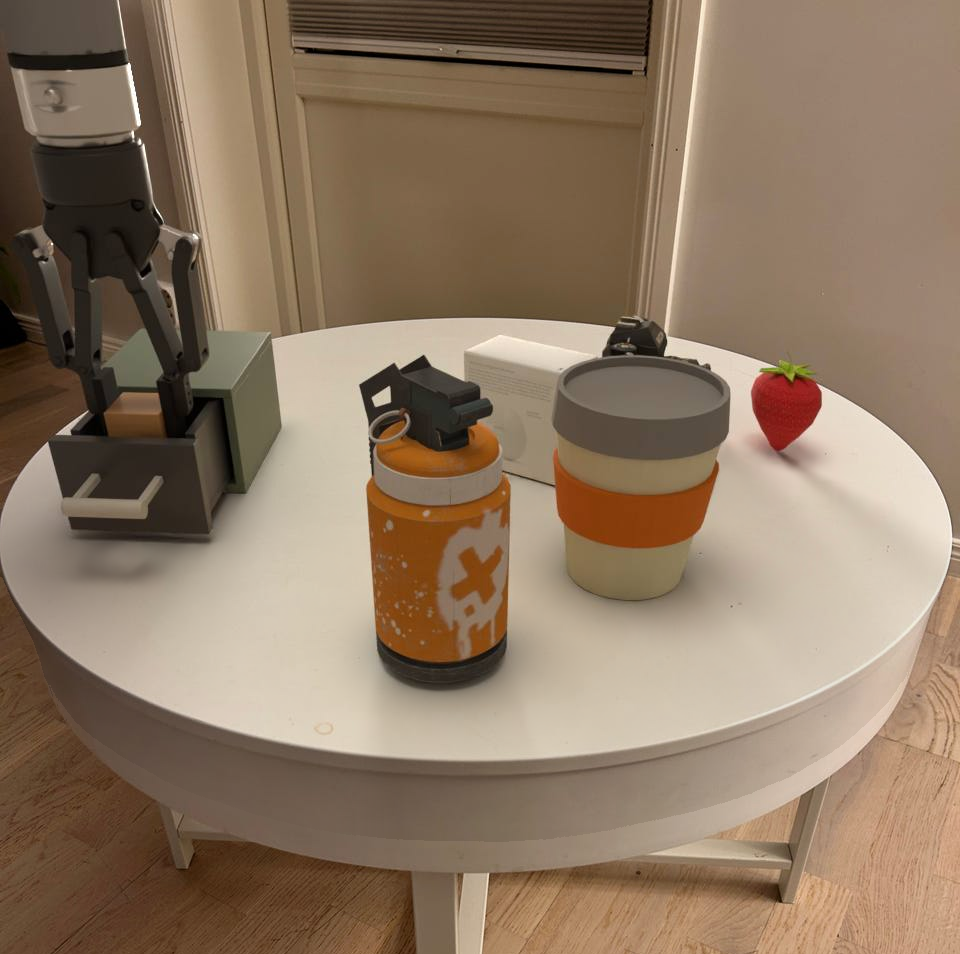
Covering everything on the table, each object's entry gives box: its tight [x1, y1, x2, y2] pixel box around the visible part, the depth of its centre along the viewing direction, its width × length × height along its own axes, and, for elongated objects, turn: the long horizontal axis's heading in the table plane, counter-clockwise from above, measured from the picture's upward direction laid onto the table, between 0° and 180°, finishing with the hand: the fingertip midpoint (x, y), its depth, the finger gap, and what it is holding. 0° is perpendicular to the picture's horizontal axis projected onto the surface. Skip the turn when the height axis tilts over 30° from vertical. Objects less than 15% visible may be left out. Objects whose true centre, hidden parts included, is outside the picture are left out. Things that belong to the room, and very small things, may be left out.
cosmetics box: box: [463, 334, 598, 486], centre depth 91 cm, size 10×6×10 cm, turn 57°
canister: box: [358, 354, 512, 684], centre depth 64 cm, size 9×11×20 cm
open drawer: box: [47, 395, 234, 535], centre depth 81 cm, size 19×11×8 cm, turn 177°
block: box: [104, 392, 167, 438], centre depth 81 cm, size 4×4×4 cm
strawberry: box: [750, 348, 823, 452], centre depth 93 cm, size 6×8×10 cm
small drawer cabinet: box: [87, 328, 283, 494], centre depth 92 cm, size 15×13×10 cm
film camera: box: [601, 315, 712, 371], centre depth 99 cm, size 18×12×10 cm
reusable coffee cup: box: [551, 355, 731, 601], centre depth 74 cm, size 12×13×15 cm
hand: (149, 450), depth 82 cm, fingers closed on block, 4 cm apart
